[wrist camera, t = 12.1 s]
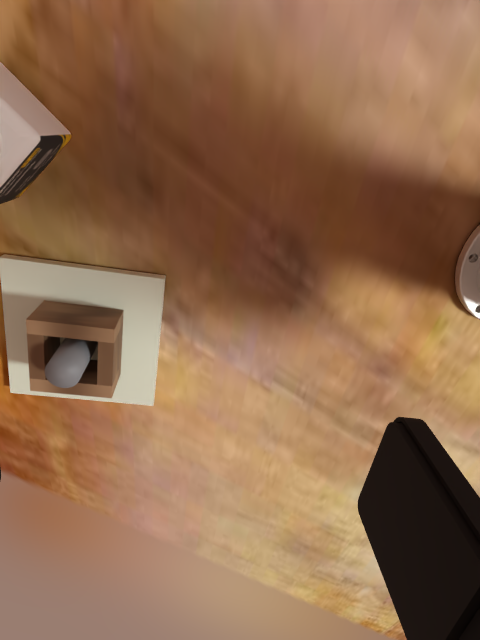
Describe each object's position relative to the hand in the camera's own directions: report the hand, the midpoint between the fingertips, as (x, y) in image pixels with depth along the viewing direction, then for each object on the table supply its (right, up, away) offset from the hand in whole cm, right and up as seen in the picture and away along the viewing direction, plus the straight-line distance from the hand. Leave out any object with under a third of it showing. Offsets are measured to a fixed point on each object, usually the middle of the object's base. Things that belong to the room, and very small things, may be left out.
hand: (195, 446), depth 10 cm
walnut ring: (-14, +1, +29) cm, 32 cm away
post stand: (-14, +2, +30) cm, 33 cm away
